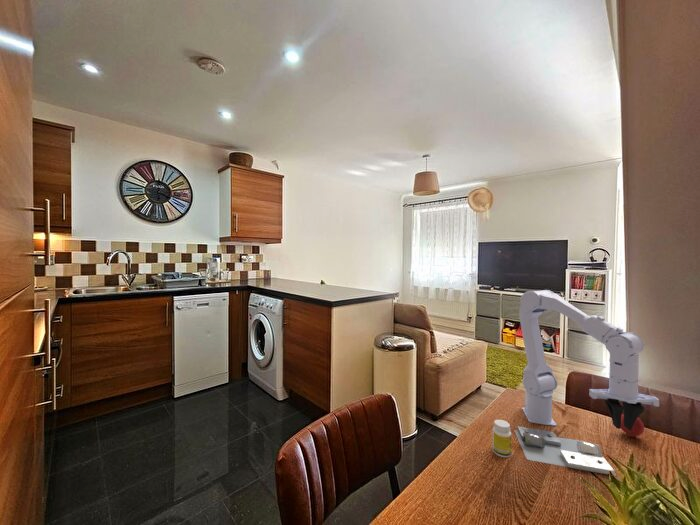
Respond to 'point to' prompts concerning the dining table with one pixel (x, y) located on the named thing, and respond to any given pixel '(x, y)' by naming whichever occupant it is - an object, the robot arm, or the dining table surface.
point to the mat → (549, 451)
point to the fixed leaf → (538, 437)
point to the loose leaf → (587, 458)
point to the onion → (637, 427)
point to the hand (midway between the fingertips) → (622, 427)
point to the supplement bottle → (501, 438)
